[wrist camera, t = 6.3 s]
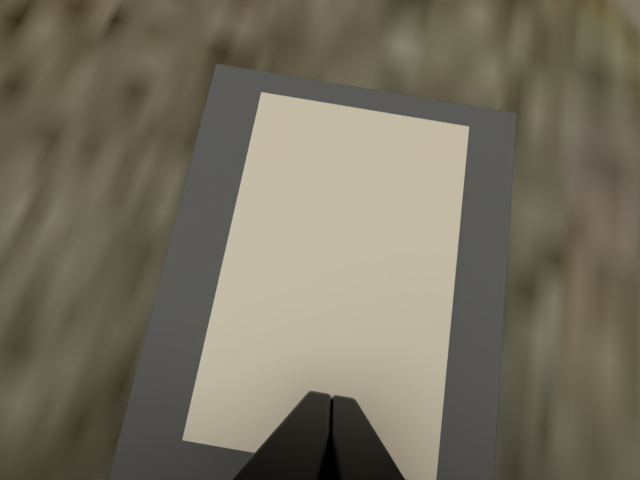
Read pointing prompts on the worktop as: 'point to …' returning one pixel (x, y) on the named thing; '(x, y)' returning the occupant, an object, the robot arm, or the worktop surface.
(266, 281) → the box
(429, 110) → the mat
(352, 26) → the worktop surface
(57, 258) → the worktop surface
